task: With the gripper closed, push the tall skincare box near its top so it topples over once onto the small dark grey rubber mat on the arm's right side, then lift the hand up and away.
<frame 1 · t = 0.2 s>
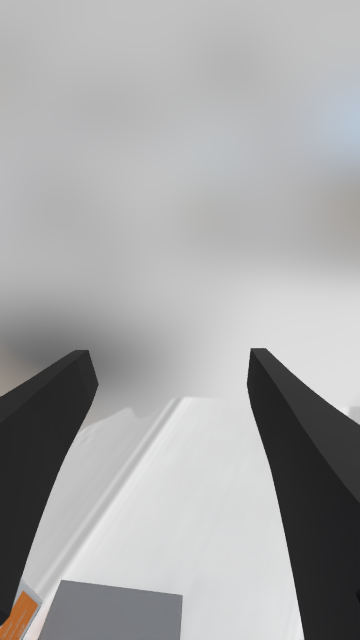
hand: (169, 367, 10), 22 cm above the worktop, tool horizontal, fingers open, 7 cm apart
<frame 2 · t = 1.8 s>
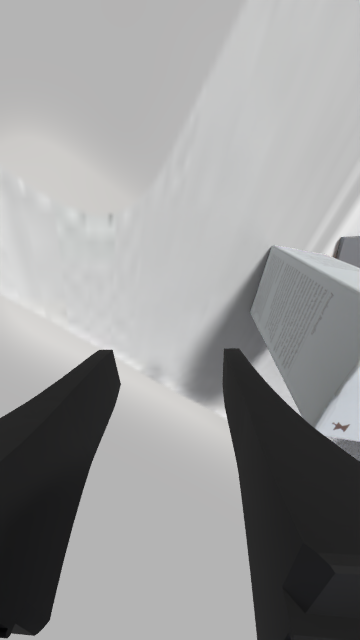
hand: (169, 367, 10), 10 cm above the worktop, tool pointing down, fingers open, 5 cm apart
skincare box: (283, 283, 19), on the worktop
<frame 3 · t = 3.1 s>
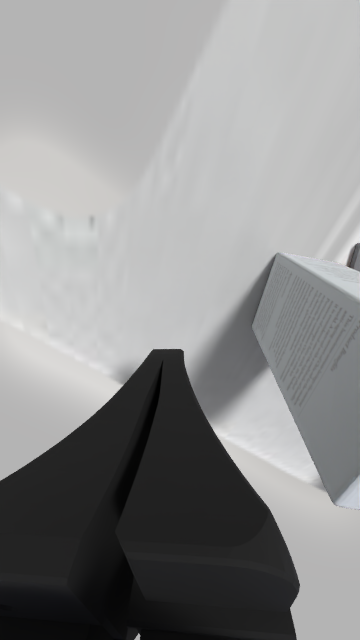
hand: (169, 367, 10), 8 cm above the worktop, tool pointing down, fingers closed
skincare box: (289, 294, 17), on the worktop
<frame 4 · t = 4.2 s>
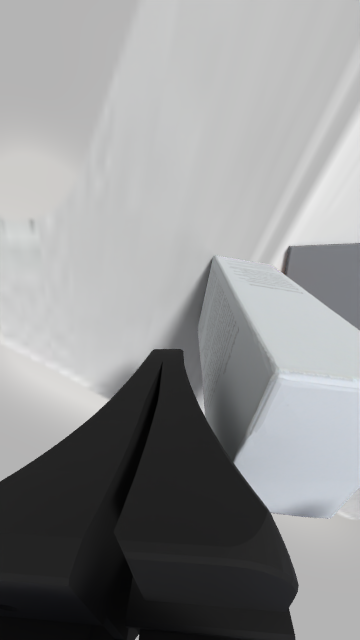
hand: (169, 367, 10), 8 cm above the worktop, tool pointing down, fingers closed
skincare box: (232, 296, 17), on the worktop, touching gripper
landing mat: (357, 293, 16), on the worktop
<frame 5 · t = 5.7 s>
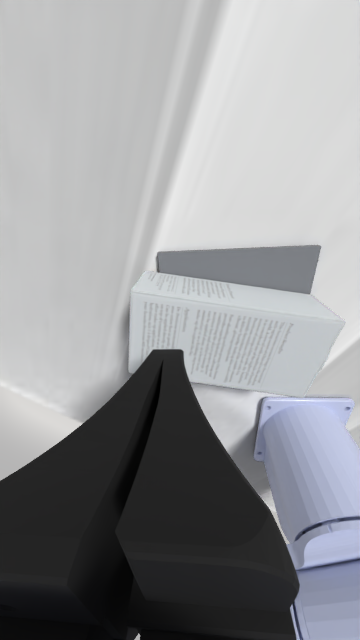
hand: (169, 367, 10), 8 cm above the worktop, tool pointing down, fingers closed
skincare box: (132, 318, 15), point 2 cm above the worktop, touching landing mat
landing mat: (233, 297, 17), on the worktop
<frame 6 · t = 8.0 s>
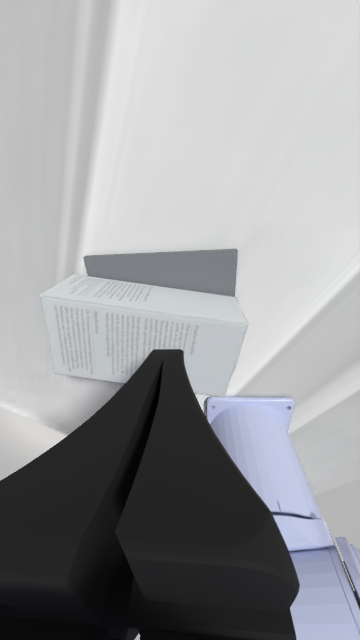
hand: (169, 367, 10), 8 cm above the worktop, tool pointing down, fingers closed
skincare box: (60, 320, 16), point 2 cm above the worktop, touching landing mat
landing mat: (163, 299, 17), on the worktop
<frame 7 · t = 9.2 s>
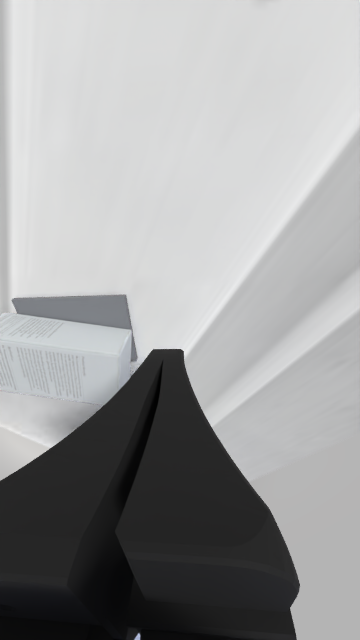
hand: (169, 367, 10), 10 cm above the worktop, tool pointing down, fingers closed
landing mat: (79, 329, 22), on the worktop
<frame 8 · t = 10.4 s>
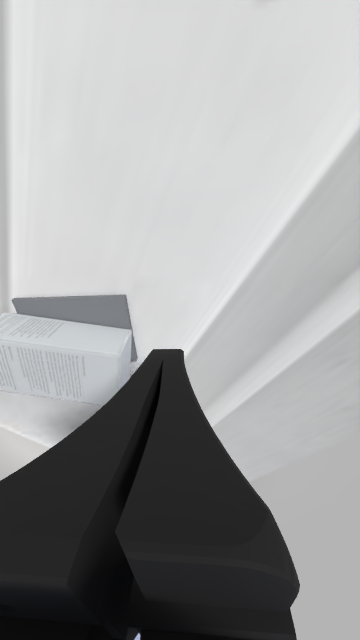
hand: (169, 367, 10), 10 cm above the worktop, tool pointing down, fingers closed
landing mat: (79, 329, 22), on the worktop
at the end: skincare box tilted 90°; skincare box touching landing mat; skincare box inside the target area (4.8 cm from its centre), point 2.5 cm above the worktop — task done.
